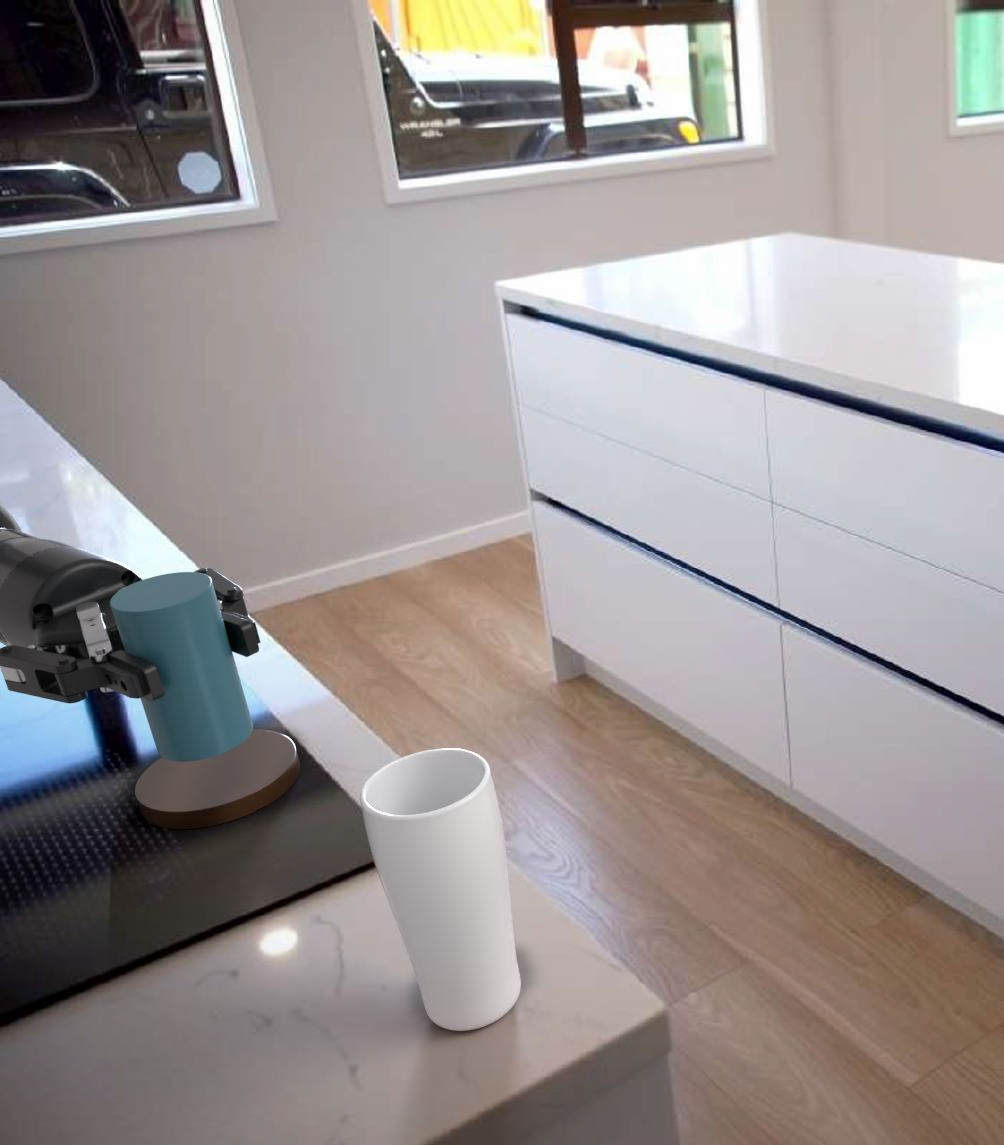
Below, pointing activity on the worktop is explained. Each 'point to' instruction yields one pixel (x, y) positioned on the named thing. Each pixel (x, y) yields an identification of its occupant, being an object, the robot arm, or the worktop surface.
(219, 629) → the cylinder
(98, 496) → the worktop surface
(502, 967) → the drinking glass
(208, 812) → the walnut disc
